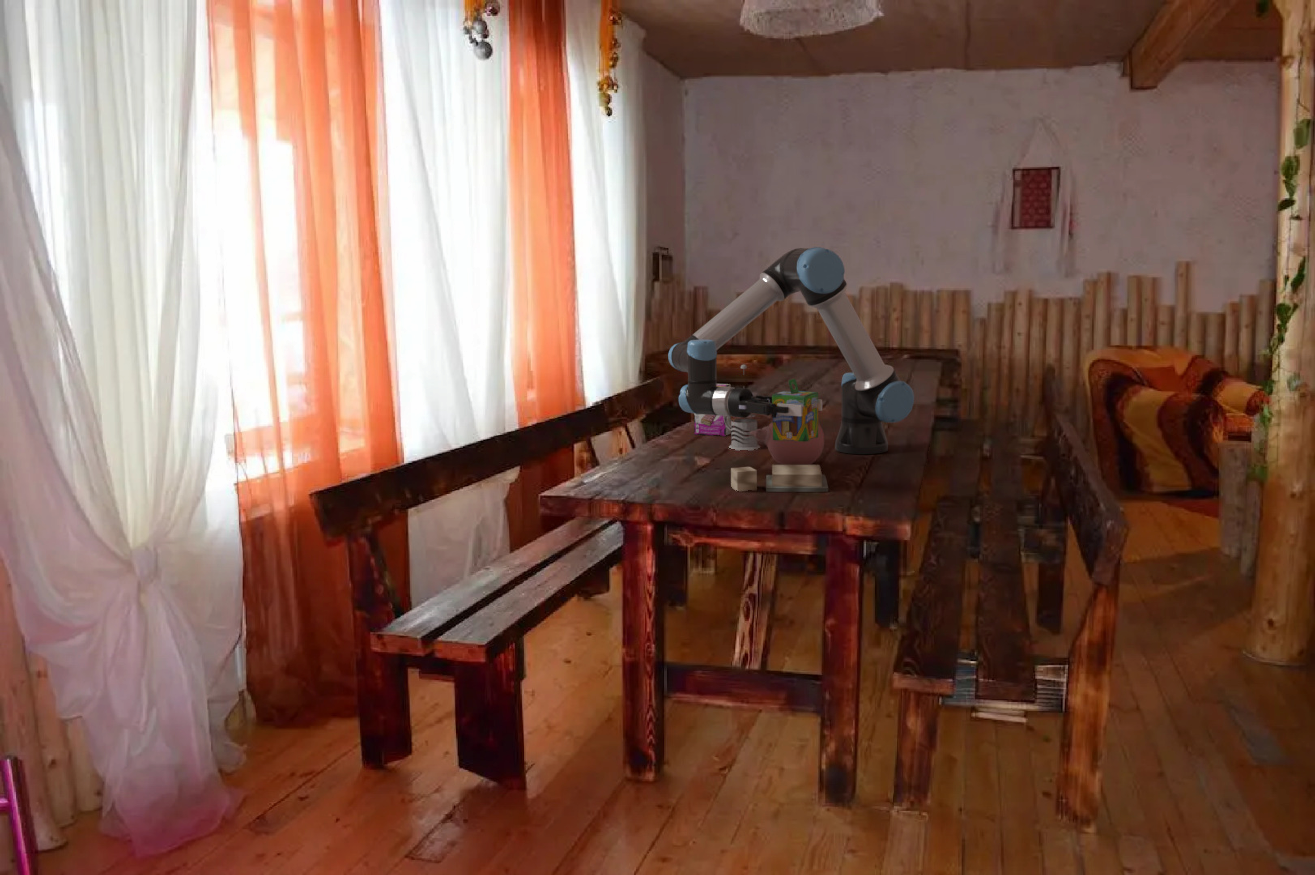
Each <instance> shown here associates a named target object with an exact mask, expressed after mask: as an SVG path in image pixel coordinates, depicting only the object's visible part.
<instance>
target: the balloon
mask: <svg viewBox="0 0 1315 875" xmlns="http://www.w3.org/2000/svg"><path fill="white" fill-rule="evenodd" d="M822 427H823V426H821V424H820V422H818V437H817V438H814V439H812V440H809V441H807V442H803V441H777V440H773V422H771V423H770V424H768V425H767V426H766V425H765V426H764V427H762V428H757V431H751V432H750V431H749V432H750V435H751V436H755V438H756V439H757V442H763V443H764V444H765V445H766V446H767V449H768V452H769V454H770V455H771V457H772V458H773V459H774V461H775V462H776V463H778V465H813V464H814V463H815V462H816V461H817V460H818V459H819V457H820V456H821V454H822V452H823V450H824V447H825V446H824V445H825V433H824V430H823V428H822ZM750 435H749V436H750Z"/></svg>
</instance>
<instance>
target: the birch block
mask: <svg viewBox="0 0 1315 875" xmlns="http://www.w3.org/2000/svg"><path fill="white" fill-rule="evenodd" d="M757 474H758V472H757V469H755V468H753V467H751V466H741V467H731V468H730V487H732V488H731V489H733V490H735V491H736V490H737V491H739V492H748V490H752V491H758V490H757V488H758V484H757V483H758V482H757V481H758V475H757ZM737 491H736V492H737Z"/></svg>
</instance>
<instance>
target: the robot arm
mask: <svg viewBox="0 0 1315 875" xmlns="http://www.w3.org/2000/svg"><path fill="white" fill-rule="evenodd" d="M844 275H845V265H844V262H843V260H842V259H841V257H840V255H838V254H837V253H836V252H835V251H833V250H831V249H828V248H824V247H821V246H819V247H817V246H814V247H811V248H810V247H809V248H807V247H806V248H805V247H803V248H801V247H800V248H799V247H798V248H794V249H791V250H789V251H787V252H786V253H785V254H783V255H782V256H780V257H779V258H777V259H776V260H775V261H774V262H773V263H772V264H770V265H769V266H768V267H767V268H766V269H765V270H764V271H762V272H761V273H760V274H759V279H758V280H757V281H756V282H754V283H753V284H752V285H751V286H750V287H748V288H747V289H746V290H745V291H743V293H741V294H740V295H739V296H737V297H736V299H733V301H732V302H730V303H729V304H728V305H727V306H725V308H723V309H722V310H721V311H720V312H718V313H717V314H716V315H715V316H714V317H712V318H711V319H710V320H709V321H707V322H706V323H704V325H702V326H701V327H700V328H699V329H698V330H697V331H695V332H694V333H692V335H690V336H689V337H688V338H686V339H685V340H683V341H682V342H678V343H675V344H673V345H672V346H671V347H670V348H669V351H668V354H667V355H668V356H667V357H668V362H669V364H670V366H671V367H672V368H674V369H675V370H677V371H679V372H683V373H687V377H688V378H687V384H685V385H683V386H682V387H681V388H680V391H679V395H678V404H679V407H680V408H681V410H682V411H684V412H686V413H690V414H694V413H695V414H705V415H720V416H721V415H723V418H727V416H731V417H732V416H733V417H742V418H746V417H748V416H749V415H750V414H754V415H763V416H770V415H771V418H773V417H776V413H777V415H789V416H802V405H796V404H782V403H778V404H777V406H776V404H773V403H772V395H763V394H760V395H758V394H757V395H755V396H754V394H753V392H752V391H751V390H750V388H745V387H732V386H731V387H717V384H718V383H717V379H718V377H717V376H718V374H717V371H718V370H717V358H718V357H717V356H718V352H717V351H718V350H719V349H720V348H721V347H723V346H724V345H725V344H726V343H728V341H730V340H731V339H732V338H733V337H735V336H736V335H737V334H739V333H740V331H742V330H743V329H745V327H747V326H748V325H749V324H750V323H752V322H754V320H755V319H757V318H758V317H759V316H760V315H762V314H763V313H764V312H765V311H766V310H768V309H769V308H770V307H771V306H772V305H774V304H775V303H776V302H777V301H778V302H783V301H784V300H785V299H786V298H788V297H789V296H791V295H794V294H795V293H798V292H799V293H800V294H801V295H802V297H803V298H804V300H805V302H806V303H807V305H808V307H811V308H816V310H817V312H818V313H819V314H820V317H821V320H823V322H824V324H825V326H826V327H827V329H828V331H829V333H830V334H831V336H832V337H833V340H834V341H835V343H836V345H837V346H838V349H839V350H840V353H841V354H842V356H843V357H844V359H845V361H846V362H847V365H848V367H849V368H850V371H851V372H845V373H844V374H843V375H842V378H841V385H840V387H841V422H840V423H841V424H840V426H839V427H840V428H839V430H838V434H837V436H836V438H835V443H834V444H835V445H834V446H835V447H834V449H835V451H837V452H840V453H844V454H851V455H852V454H853V455H873V454H874V455H875V454H882V453H886V452H888V451H889V442H888V439H887V435H886V431H885V429H884V425H883V423H891V424H893V423H899V422H901V421H903V420H904V419H905V418H907V417H908V416H909V415H910V413H911V411H912V410H913V406H914V402H915V393H914V390H913V389H912V387H911V386H910V384H908V383H907V382H905V381H904V380H903V381H902V380H900V378H899V376H898V374H897V373H896V370H895V369H894V366H892V365H889V364H885V363H884V361H883V359H882V357H881V356H880V354H879V352H878V349H877V348H876V347H875V344H874V342H873V341H872V339H871V337H870V335H869V334H868V332H867V330H866V328H865V326H864V324H863V322H862V321H861V319H860V318H859V316H858V313H857V312H856V310H855V308H854V306H853V305H852V303H851V301H850V299H849V297H848V296H847V294H846V289H847V286H848V283H847V282H846V280H845V277H844ZM822 411H823V399H819V398H818V412H822ZM733 417H732V418H733Z"/></svg>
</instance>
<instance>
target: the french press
mask: <svg viewBox="0 0 1315 875" xmlns="http://www.w3.org/2000/svg"><path fill="white" fill-rule="evenodd" d="M747 368H748V367H747V365H746V364H741V365H740V369H743V370H742V371H743V373H742V374H745V369H747ZM756 417H757V414H755V413H751V414H750V415H749V416H748V417H746V418H742V417H733V416H731V418H733V419H734V420H733V419H731V426H730V425H729V426H730V427H731V429H729V428H728V427H727V425H726V423H725V425H726V427H727V428H728V429H729V430H731V434H730V435H731V444H730V445H729V446H728V447H729V448H731V449H735V450H734V451H740V450H748V451H755V450H754V449H756V450H759V449H758V448H760V447H761V445H760V444H758V440H757V439H756V438H755V436H751V435H750V432H751V431H757V429H758V420H757V419H754V418H756ZM727 421H728V416H727ZM724 422H725V418H724ZM728 424H729V422H728ZM729 448H728V449H729ZM731 449H730V450H731ZM760 449H761V448H760Z"/></svg>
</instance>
